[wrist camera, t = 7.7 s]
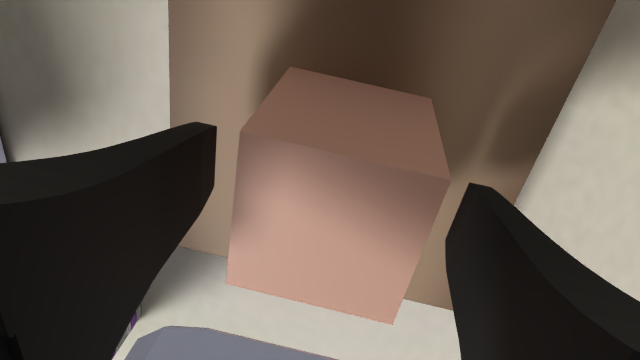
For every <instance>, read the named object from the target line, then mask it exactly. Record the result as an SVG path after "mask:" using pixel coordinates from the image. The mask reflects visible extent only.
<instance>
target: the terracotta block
mask: <svg viewBox="0 0 640 360" xmlns="http://www.w3.org/2000/svg"><path fill="white" fill-rule="evenodd" d="M450 182H451V177H450V173H449V169H448V164H447V160H446V156H445V152H444V148H443V144H442V140H441V136H440V132H439V128H438V124H437V120H436V116H435V112H434V108H433V104H432V100H431V98H427V97H422V96H418V95H414V94H409V93H405V92H400V91H396V90H392V89H387V88H383V87H378V86H374V85H370V84H365V83H361V82H356V81H352V80H348V79H343V78H339V77H334V76H330V75H326V74H321V73H317V72H312V71H308V70H304V69H299V68H295V67H290V68H289V69H288V70H287V71H286V73H285V74H284V75H283V76H282V78H281V79H280V80H279V82H278V83H277V84H276V85H275V87H274V88H273V89H272V91H271V92H270V93H269V94H268V96H267V97H266V98H265V99H264V101H263V102H262V103H261V105H260V106H259V107H258V108H257V110H256V111H255V112H254V113H253V115H252V116H251V117H250V119H249V120H248V121H247V122H246V124H245V125H244V126H243V127H242V129H241V130H240V135H239V146H238V157H237V168H236V179H235V190H234V201H233V212H232V223H231V234H230V245H229V255H228V266H227V277H226V284H229V285H233V286H237V287H241V288H245V289H250V290H254V291H258V292H262V293H266V294H270V295H274V296H278V297H282V298H286V299H290V300H294V301H298V302H302V303H306V304H310V305H314V306H319V307H323V308H327V309H331V310H335V311H339V312H343V313H347V314H351V315H355V316H359V317H363V318H367V319H371V320H375V321H379V322H383V323H387V324H392V325H393V322H394V320H395V317H396V315H397V312H398V310H399V307H400V305H401V303H402V300H403V298H404V295H405V293H406V290H407V288H408V285H409V283H410V280H411V278H412V276H413V273H414V271H415V268H416V266H417V263H418V261H419V258H420V256H421V253H422V251H423V249H424V246H425V244H426V241H427V239H428V236H429V234H430V231H431V229H432V226H433V224H434V222H435V219H436V217H437V214H438V212H439V209H440V207H441V204H442V202H443V199H444V197H445V195H446V192H447V190H448V187H449V185H450Z"/></svg>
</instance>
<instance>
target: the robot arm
mask: <svg viewBox="0 0 640 360" xmlns="http://www.w3.org/2000/svg"><path fill="white" fill-rule="evenodd" d="M216 140H217V126H214V125H210V124H205V123H201V122H191V123H187V124H183V125H180V126H177V127H173V128H170V129H167V130H164V131H161V132H158V133H155V134H151V135H148V136H145V137H142V138H139V139H135V140H132V141H128V142H124V143H121V144H117V145H114V146H110V147H106V148H102V149H98V150H93V151H89V152H83V153H78V154H73V155H67V156H61V157H54V158H45V159H37V160H29V161H20V162H9V163H7V162H6V158H5V154H4V150H3V146H2V142H1V138H0V360H111V358H112V356H113V354H114V352H115V350H116V348H117V346H118V344H119V342H120V340H121V338H122V337H123V335H124V333H125V331H126V329H127V327H128V325H129V323H130V321H131V320H132V318H133V316H134V314H135V312H136V310H137V308H138V307H139V305H140V303H141V301H142V299H143V298H144V296H145V294H146V292H147V291H148V289H149V287H150V285H151V283H152V282H153V280H154V279H155V277H156V276H157V274H158V272H159V271H160V269H161V268H162V267H163V265H164V264H165V262H166V261H167V260H168V258H169V257H170V256H171V254H172V253H173V251H174V250H175V249H176V247H177V246H178V245H179V243H180V242H181V240H182V239H183V238H184V236H185V235H186V234H187V232H188V231H189V229H190V228H191V227H192V225H193V224H194V222H195V221H196V220H197V218H198V217H199V215H200V214H201V212H202V210H203V208H204V206H205V205H206V203H207V201H208V199H209V197H210V195H211V193H212V190H213V188H214V183H215V162H216ZM445 260H446V273H447V279H448V284H449V290H450V295H451V301H452V306H453V311H454V316H455V322H456V327H457V332H458V338H459V344H460V352H461V360H640V302H639V301H638V300H636V299H634V298H633V297H631V296H629V295H628V294H626V293H624V292H623V291H621V290H620V289H618V288H616V287H615V286H613V285H612V284H610V283H609V282H607V281H606V280H604V279H603V278H601V277H600V276H599V275H597V274H596V273H594V272H593V271H591V270H590V269H589V268H587V267H586V266H584V265H583V264H582V263H580V262H579V261H578V260H576V259H575V258H574V257H572V256H571V255H570V254H569V253H567V252H566V251H565V250H564V249H562V248H561V247H560V246H559V245H557V244H556V243H555V242H554V241H553V240H551V239H550V238H549V237H548V236H547V235H546V234H544V233H543V232H542V231H541V230H540V229H539V228H538V227H536V226H535V225H534V224H533V223H532V222H531V221H530V220H529V219H528V218H527V217H525V216H524V215H523V214H522V213H521V212H520V211H519V210H518V209H517V208H516V207H515V206H513V205H512V204H511V203H510V202H509V201H508V200H507V199H506V198H505V197H503V196H502V195H501V194H500V193H499V192H497V191H496V190H495V189H493V188H492V187H488V186H484V185H479V184H475V183H470V182H469V184H468V186H467V189H466V191H465V193H464V196H463V198H462V200H461V203H460V205H459V208H458V210H457V212H456V215H455V217H454V220H453V222H452V224H451V227H450V229H449V231H448V234H447V236H446V239H445ZM125 360H338V359H334V358H330V357H325V356H321V355H317V354H313V353H309V352H305V351H301V350H296V349H292V348H288V347H284V346H280V345H276V344H272V343H268V342H263V341H259V340H255V339H251V338H247V337H243V336H239V335H235V334H230V333H226V332H222V331H218V330H214V329H210V328H200V327H183V326H167V327H163V328H161V329H159V330H156V331H154V332H152V333H150V334H148V335H145V336H143V337H141V338H139V339H137V341H136V342H135V344H134V345H133V347H132V349H131V350H130V352H129V353H128V355H127V357H126V358H125Z"/></svg>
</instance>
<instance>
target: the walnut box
mask: <svg viewBox="0 0 640 360" xmlns="http://www.w3.org/2000/svg"><path fill="white" fill-rule="evenodd" d="M615 2H616V0H168V11H169V73H170V128H173V127H177V126H180V125H183V124H187V123H191V122H201V123H205V124H210V125H214V126H217V140H216V162H215V183H214V188H213V190H212V193H211V195H210V197H209V199H208V201H207V203H206V205H205V206H204V208H203V210H202V212H201V214H200V215H199V217H198V218H197V220H196V221H195V222H194V224H193V225H192V227H191V228H190V229H189V231H188V232H187V234H186V235H185V236H184V238H183V239H182V240H181V242H180V243H179V245H178V246H181V247H185V248H189V249H193V250H198V251H202V252H206V253H210V254H215V255H219V256H223V257H227V258H228V255H229V245H230V234H231V223H232V212H233V201H234V190H235V179H236V168H237V157H238V146H239V135H240V130H241V129H242V127H243V126H244V125H245V124H246V122H247V121H248V120H249V119H250V117H251V116H252V115H253V113H254V112H255V111H256V110H257V108H258V107H259V106H260V105H261V103H262V102H263V101H264V99H265V98H266V97H267V96H268V94H269V93H270V92H271V91H272V89H273V88H274V87H275V85H276V84H277V83H278V82H279V80H280V79H281V78H282V76H283V75H284V74H285V73H286V71H287V70H288V69H289V68H290V67H295V68H299V69H304V70H308V71H312V72H317V73H321V74H326V75H330V76H334V77H339V78H343V79H348V80H352V81H356V82H361V83H365V84H370V85H374V86H378V87H383V88H387V89H392V90H396V91H400V92H405V93H409V94H414V95H418V96H422V97H427V98H431V100H432V104H433V108H434V112H435V116H436V120H437V124H438V128H439V132H440V136H441V140H442V144H443V148H444V152H445V156H446V160H447V164H448V169H449V173H450V177H451V182H450V185H449V187H448V190H447V192H446V195H445V197H444V199H443V202H442V204H441V207H440V209H439V212H438V214H437V217H436V219H435V222H434V224H433V226H432V229H431V231H430V234H429V236H428V239H427V241H426V244H425V246H424V249H423V251H422V253H421V256H420V258H419V261H418V263H417V266H416V268H415V271H414V273H413V276H412V278H411V280H410V283H409V285H408V288H407V290H406V293H405V295H404V298H403V299H406V300H410V301H415V302H419V303H423V304H428V305H432V306H436V307H440V308H445V309H449V310H453V306H452V301H451V295H450V290H449V284H448V279H447V273H446V260H445V239H446V236H447V234H448V231H449V229H450V227H451V224H452V222H453V220H454V217H455V215H456V212H457V210H458V208H459V205H460V203H461V200H462V198H463V196H464V193H465V191H466V189H467V186H468V184H469V182H470V183H475V184H479V185H484V186H488V187H492V188H493V189H495V190H496V191H497V192H499V193H500V194H501V195H502V196H503V197H505V198H506V199H507V200H508V201H509V202H510V203H511V204H512V205H514V203H515V201H516V199H517V197H518V195H519V193H520V191H521V189H522V187H523V185H524V183H525V181H526V179H527V177H528V175H529V173H530V171H531V169H532V167H533V165H534V163H535V161H536V159H537V157H538V155H539V153H540V151H541V149H542V147H543V145H544V143H545V141H546V139H547V137H548V135H549V133H550V131H551V129H552V127H553V125H554V123H555V121H556V119H557V117H558V115H559V113H560V111H561V109H562V107H563V105H564V103H565V101H566V99H567V97H568V95H569V93H570V91H571V89H572V87H573V85H574V83H575V81H576V79H577V77H578V75H579V73H580V71H581V69H582V67H583V65H584V63H585V61H586V59H587V57H588V55H589V53H590V51H591V49H592V47H593V45H594V43H595V41H596V39H597V37H598V35H599V33H600V31H601V29H602V27H603V25H604V23H605V21H606V19H607V17H608V15H609V14H610V12H611V10H612V8H613V6H614V4H615Z"/></svg>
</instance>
